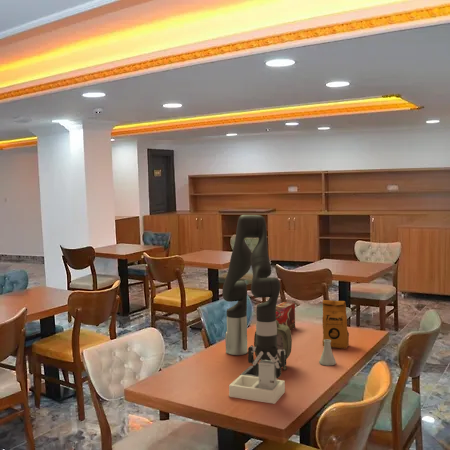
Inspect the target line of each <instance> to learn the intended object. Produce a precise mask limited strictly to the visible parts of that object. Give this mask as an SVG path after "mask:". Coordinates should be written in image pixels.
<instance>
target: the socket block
mask: <svg viewBox="0 0 450 450" xmlns="http://www.w3.org/2000/svg"><path fill="white" fill-rule="evenodd" d="M240 375H247V376H254V377H259V374H258V375H255V373H254V372H253V365H249V366H248V367H247V368H246V369H245V370H244V371H242V372H241V373H240V374H239V376H240Z"/></svg>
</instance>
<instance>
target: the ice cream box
mask: <svg viewBox="0 0 450 450" xmlns="http://www.w3.org/2000/svg"><path fill="white" fill-rule="evenodd" d="M276 309H277V310H279V311H280V313H281V316H280V313H279V312H278V311H276V317H278V316H280V317H279V318H277V319H276V320H277V321H278V322H279V324H281V325H286V326H288V327H289V328H290V331H292V330H294V329H295V328H296V304H295V303H294V302H288V301H287V302H286V301H283V302H281V303H279V304H276ZM293 328H294V329H293Z"/></svg>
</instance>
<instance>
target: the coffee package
mask: <svg viewBox="0 0 450 450" xmlns="http://www.w3.org/2000/svg"><path fill="white" fill-rule="evenodd" d="M321 319H322V334H323V335H322V347H324V340H326V339H328V340H331V343H330V344H331V348H334V349H342V350H343V349H345V350H346V349H347V348H348V347H349V345H350V344H349V342H350V341H349V339H350V337H349V336H350V333H349V330H348V315H347V304H346V301H345V300H329V299H327V300H326V299H322V318H321Z"/></svg>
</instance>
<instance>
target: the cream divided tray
mask: <svg viewBox="0 0 450 450" xmlns="http://www.w3.org/2000/svg"><path fill="white" fill-rule="evenodd" d="M285 381H286V380H283V379H282V380H281V379H277V386H276V387H275V388H274V389H273V390H267V389H260V388H259V377H254V376H247V375H240V374H239V376H237V378H235V379H234V380H233V381H232V382H231V383H230V384H229V385H228V397H229V398H236V399H242V400H249V401H255V402H259V403H267V404H274V405H276V404H277V402H278V401H279V400H280V398H281V397H282V396H283V395H284V393H286V383H285Z"/></svg>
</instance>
